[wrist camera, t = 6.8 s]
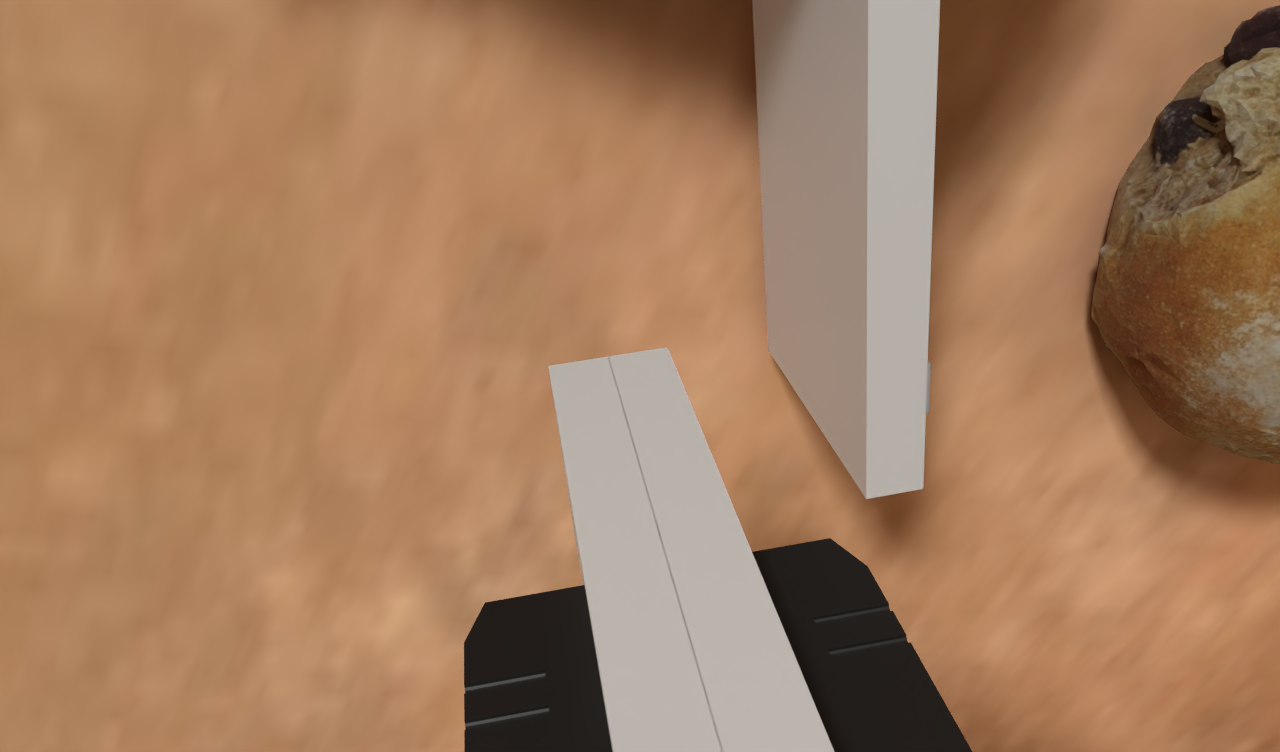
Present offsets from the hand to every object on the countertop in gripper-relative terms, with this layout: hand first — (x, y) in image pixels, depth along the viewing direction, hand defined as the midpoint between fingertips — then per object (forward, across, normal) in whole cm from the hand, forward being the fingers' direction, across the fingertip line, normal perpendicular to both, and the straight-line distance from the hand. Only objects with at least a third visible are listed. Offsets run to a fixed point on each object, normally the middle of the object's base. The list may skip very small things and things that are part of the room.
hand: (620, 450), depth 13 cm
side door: (+9, +5, +1) cm, 10 cm away
